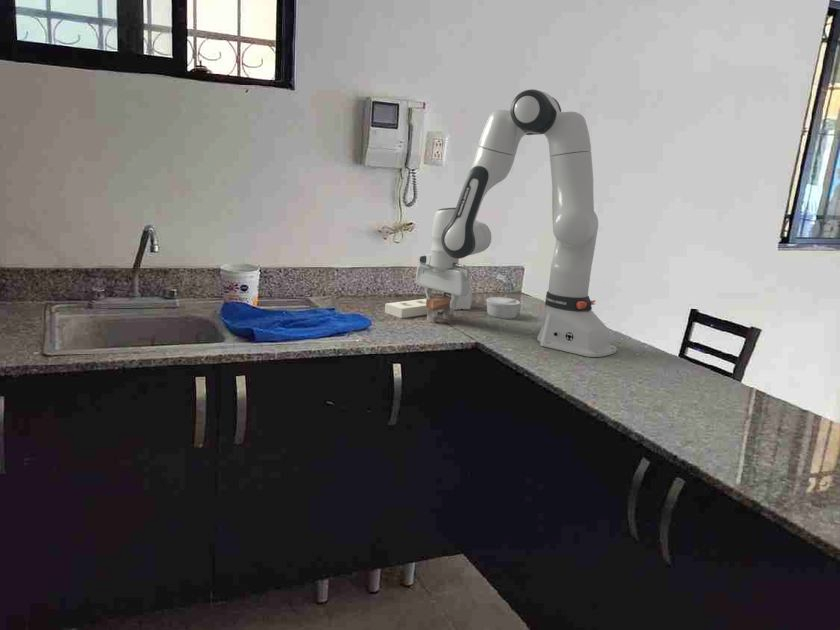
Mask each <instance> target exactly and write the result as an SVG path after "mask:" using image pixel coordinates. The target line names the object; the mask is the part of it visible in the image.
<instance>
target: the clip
mask: <svg viewBox="0 0 840 630" xmlns="http://www.w3.org/2000/svg"><path fill="white" fill-rule="evenodd" d="M426 299H427V298H426ZM451 299H452V297H450V296H447V297H444V296H441V297H434V298H431V299H427V300H426V309H427V314H426V322H428V321H429V322H428V323H431V322H432V323H431V324H437V323H438V317H439V316H438V315H439V313H438V310H441V309H442V319H443V318H444V319H443V320H446V319H447V320H446V321H449V320H450V321H453V320H454V313H455V310H454V308H452V309H451V308H448V302H450V301H451ZM455 307H456V303H455ZM436 322H437V323H436Z"/></svg>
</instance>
